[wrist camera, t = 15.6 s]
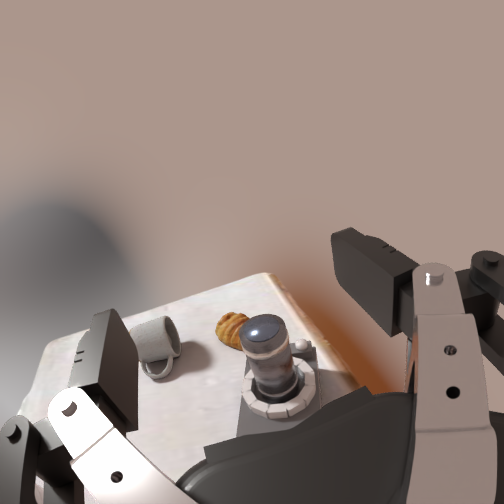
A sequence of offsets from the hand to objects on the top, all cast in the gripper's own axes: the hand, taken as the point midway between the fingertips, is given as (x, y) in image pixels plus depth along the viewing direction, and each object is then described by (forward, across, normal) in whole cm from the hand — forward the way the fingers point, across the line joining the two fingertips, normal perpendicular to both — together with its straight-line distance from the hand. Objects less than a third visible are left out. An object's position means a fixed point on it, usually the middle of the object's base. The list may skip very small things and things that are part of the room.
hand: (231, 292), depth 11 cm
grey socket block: (+16, +2, -32) cm, 36 cm away
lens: (+16, +2, -27) cm, 32 cm away
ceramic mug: (+36, -15, -32) cm, 50 cm away
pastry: (+35, 0, -32) cm, 48 cm away
